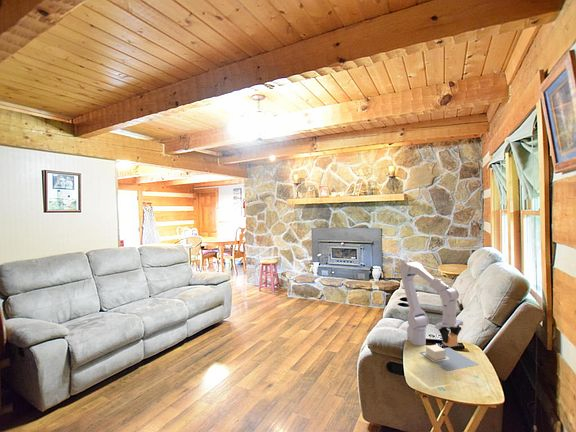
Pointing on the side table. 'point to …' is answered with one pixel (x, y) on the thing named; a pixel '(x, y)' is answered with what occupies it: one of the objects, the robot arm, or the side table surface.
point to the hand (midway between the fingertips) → (449, 341)
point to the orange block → (451, 340)
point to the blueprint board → (452, 360)
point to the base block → (435, 352)
